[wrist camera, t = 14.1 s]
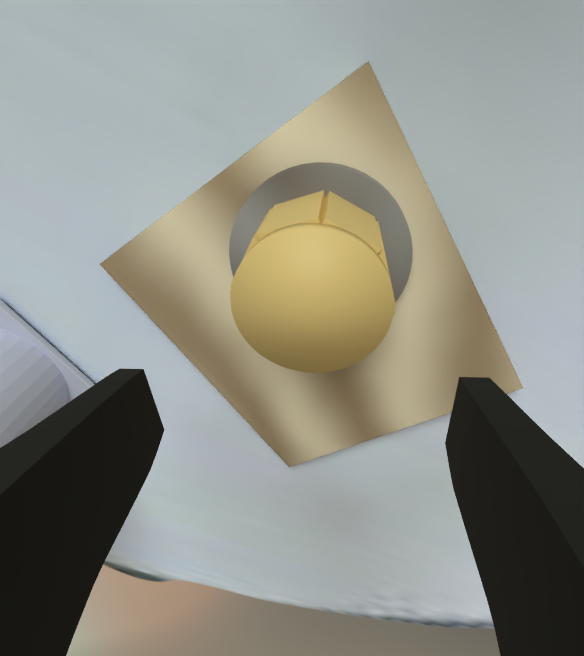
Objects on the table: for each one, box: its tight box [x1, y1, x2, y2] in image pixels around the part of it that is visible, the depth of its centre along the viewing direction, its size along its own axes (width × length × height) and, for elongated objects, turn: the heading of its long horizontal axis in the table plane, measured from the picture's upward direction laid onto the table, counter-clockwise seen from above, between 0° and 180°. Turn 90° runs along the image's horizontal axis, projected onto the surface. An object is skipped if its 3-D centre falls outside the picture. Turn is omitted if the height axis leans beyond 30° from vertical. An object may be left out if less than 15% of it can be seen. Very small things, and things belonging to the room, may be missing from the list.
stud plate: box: [100, 61, 523, 467], centre depth 18 cm, size 14×16×3 cm
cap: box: [230, 190, 396, 373], centre depth 15 cm, size 5×5×4 cm
